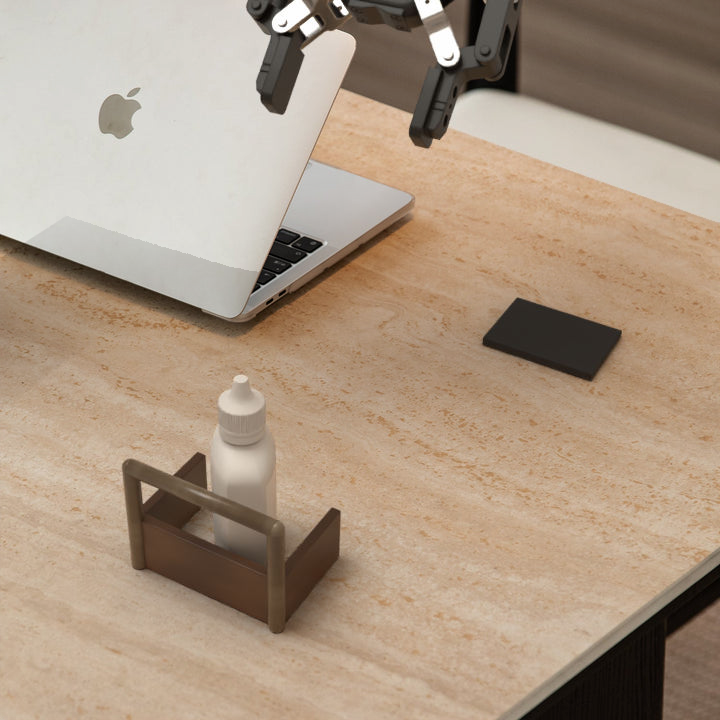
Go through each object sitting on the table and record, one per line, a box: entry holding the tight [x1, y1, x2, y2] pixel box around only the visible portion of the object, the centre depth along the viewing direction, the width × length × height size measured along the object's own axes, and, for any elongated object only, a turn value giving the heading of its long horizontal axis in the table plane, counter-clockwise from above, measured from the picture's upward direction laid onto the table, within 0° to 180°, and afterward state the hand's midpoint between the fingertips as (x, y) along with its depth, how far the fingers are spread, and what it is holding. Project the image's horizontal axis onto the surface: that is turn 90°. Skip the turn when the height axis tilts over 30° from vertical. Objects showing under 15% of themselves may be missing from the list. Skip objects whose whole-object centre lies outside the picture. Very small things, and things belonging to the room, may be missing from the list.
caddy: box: [121, 451, 342, 634], centre depth 66 cm, size 10×7×7 cm
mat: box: [481, 297, 623, 382], centre depth 86 cm, size 8×6×1 cm
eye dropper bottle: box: [209, 374, 278, 567], centre depth 65 cm, size 4×6×12 cm
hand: (343, 125), depth 65 cm, fingers open, 8 cm apart
